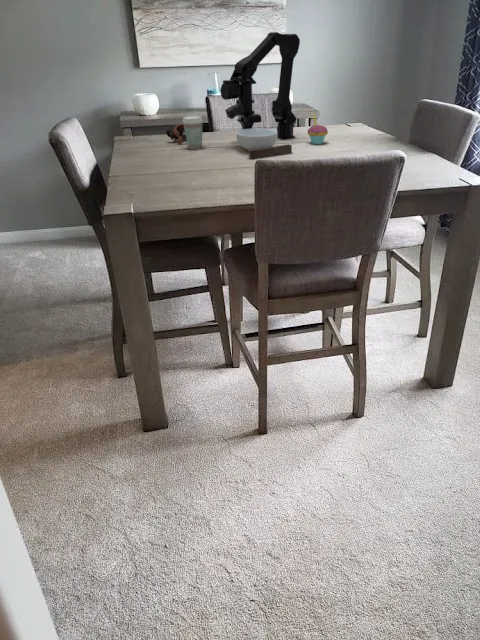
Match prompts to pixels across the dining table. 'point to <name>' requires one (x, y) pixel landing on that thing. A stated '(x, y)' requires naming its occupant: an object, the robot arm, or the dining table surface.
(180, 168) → the dining table surface
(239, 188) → the dining table surface
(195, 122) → the coffee cup
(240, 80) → the robot arm
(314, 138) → the cupcake
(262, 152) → the rail
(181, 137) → the brown irregular piece
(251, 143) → the cereal bowl
